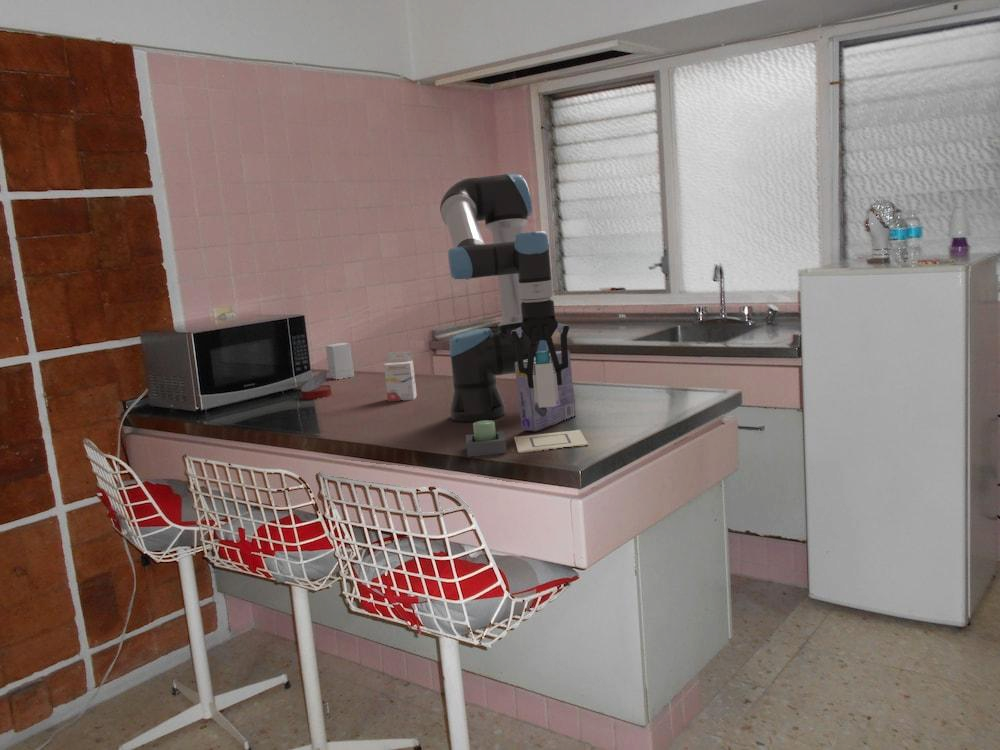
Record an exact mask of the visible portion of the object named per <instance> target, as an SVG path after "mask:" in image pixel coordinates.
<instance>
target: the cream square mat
mask: <svg viewBox="0 0 1000 750" xmlns="http://www.w3.org/2000/svg"><path fill="white" fill-rule="evenodd" d="M513 438H514V443H515V446H516V450H517V453H518V454H525V453H532V452H534V451H535V452H542V450H544V451H550V450H549V449H553V450H558V449H557V448H562V449H564V448H563V447H572V448H574V447H573V446H581V447H586V446H585V445H588V446H589V443H588V441H587V440H586V438H585V436H584V434H583V433H582V431H581V429H576V430H567V431H557V432H549V433H536V434H531V435H521V436H514V437H513Z"/></svg>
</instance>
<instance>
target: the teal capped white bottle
mask: <svg viewBox="0 0 1000 750" xmlns="http://www.w3.org/2000/svg"><path fill="white" fill-rule="evenodd" d="M549 353H550V352H549V350H548V351H539V352H535V358H536V362H534V372H535V374H536V382H537V393H538V406H539V408H542V407H551V406H556V396H555V385H554V374H553V363H552V362H551V361H550V358H549Z"/></svg>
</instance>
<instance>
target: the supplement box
mask: <svg viewBox="0 0 1000 750" xmlns="http://www.w3.org/2000/svg"><path fill="white" fill-rule="evenodd" d="M325 353H326V359H327V360H326V361H327V366H328V372H329V374H328V375H329V379H332V378H333V380H335V379H336V381H338V380H337V379H339V380H343V378H345V379H349V378H348V377H350V378H354V377H355V370H354V364H353V357H352V349H351V343H347V342H339V343H332V344H326V345H325Z"/></svg>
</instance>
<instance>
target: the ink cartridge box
mask: <svg viewBox="0 0 1000 750" xmlns="http://www.w3.org/2000/svg"><path fill="white" fill-rule="evenodd" d="M385 355H386V359H387V360H386V362H385V364H383V368H384V378H385V386H386V389H385V390H386V397H387V402H398V401H399V402H400V400H403V401H414V400H415V399H416V398H417V385H416V379H415V369H414V361H413V357H412V356H413V355H412V352H411V350H408V351H395V352H387V353H386V354H385ZM398 356H400V357H398ZM401 356H403V357H401Z"/></svg>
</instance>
